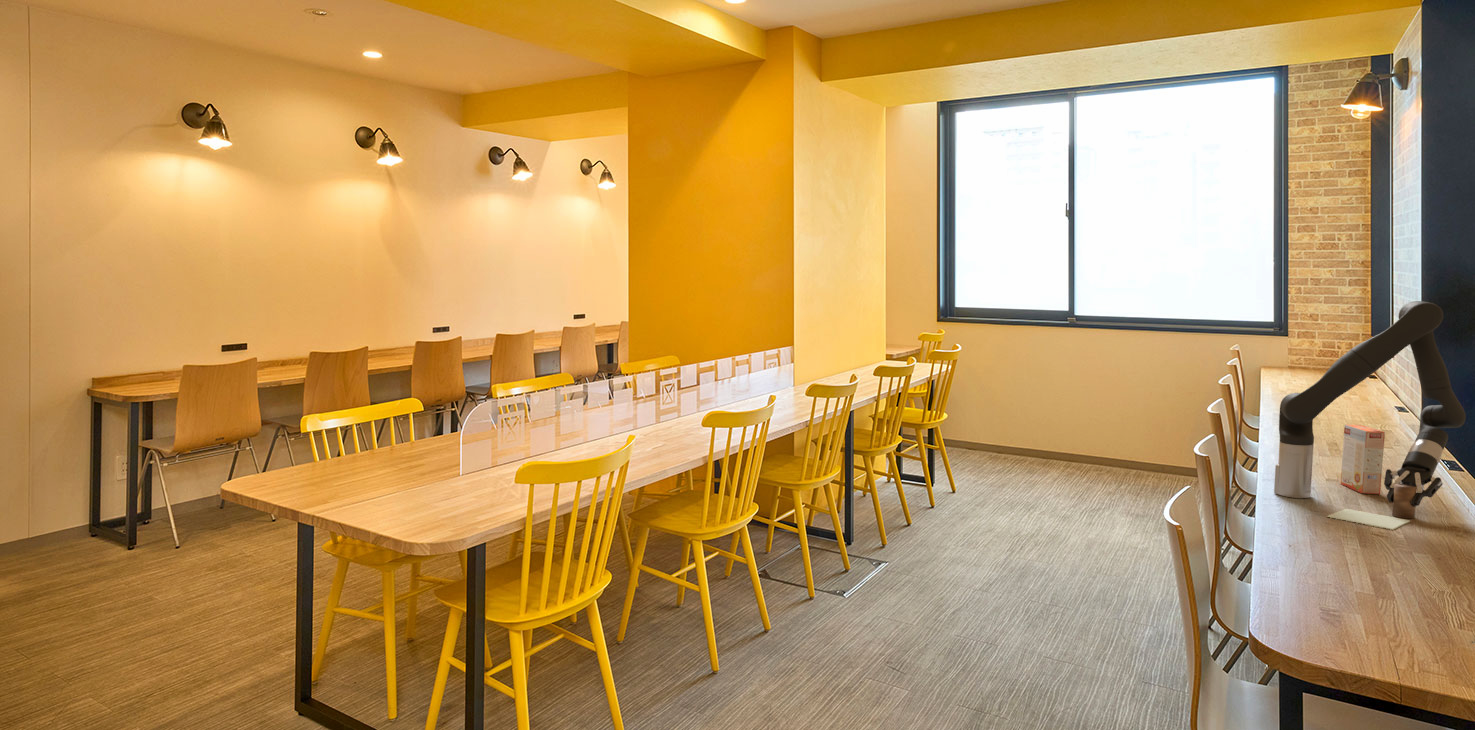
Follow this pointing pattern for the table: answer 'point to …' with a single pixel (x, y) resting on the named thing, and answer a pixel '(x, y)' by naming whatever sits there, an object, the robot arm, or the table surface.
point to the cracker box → (1362, 459)
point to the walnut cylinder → (1403, 501)
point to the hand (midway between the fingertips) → (1401, 502)
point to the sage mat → (1369, 519)
